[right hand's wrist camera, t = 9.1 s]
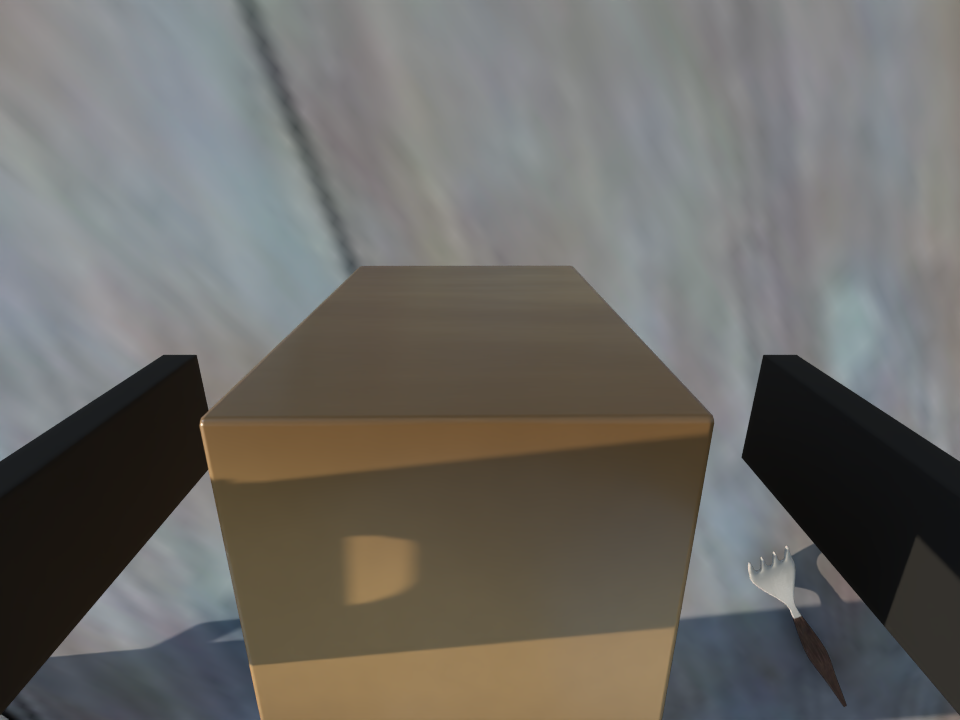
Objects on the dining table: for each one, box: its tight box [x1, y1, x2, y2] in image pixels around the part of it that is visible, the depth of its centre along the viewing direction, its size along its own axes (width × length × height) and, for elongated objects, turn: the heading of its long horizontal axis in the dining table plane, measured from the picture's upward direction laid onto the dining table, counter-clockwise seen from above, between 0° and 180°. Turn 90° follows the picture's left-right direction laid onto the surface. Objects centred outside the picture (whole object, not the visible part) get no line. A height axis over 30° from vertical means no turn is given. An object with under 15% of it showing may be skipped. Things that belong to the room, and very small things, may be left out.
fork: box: [748, 546, 847, 707], centre depth 32 cm, size 3×16×2 cm, turn 32°
